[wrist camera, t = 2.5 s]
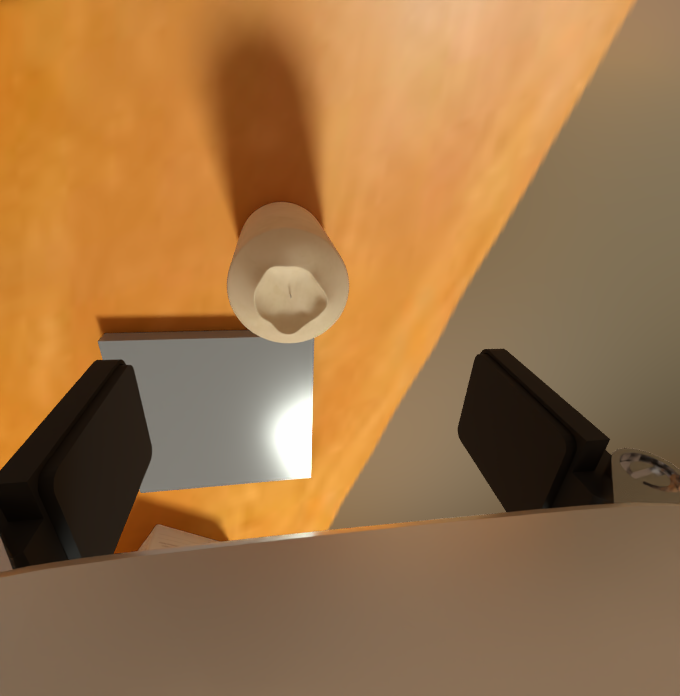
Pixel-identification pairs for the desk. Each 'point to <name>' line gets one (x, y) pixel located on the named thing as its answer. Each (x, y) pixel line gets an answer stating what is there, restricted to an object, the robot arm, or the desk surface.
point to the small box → (171, 538)
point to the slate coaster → (220, 405)
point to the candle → (286, 275)
